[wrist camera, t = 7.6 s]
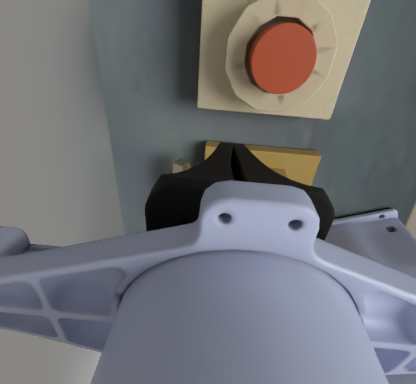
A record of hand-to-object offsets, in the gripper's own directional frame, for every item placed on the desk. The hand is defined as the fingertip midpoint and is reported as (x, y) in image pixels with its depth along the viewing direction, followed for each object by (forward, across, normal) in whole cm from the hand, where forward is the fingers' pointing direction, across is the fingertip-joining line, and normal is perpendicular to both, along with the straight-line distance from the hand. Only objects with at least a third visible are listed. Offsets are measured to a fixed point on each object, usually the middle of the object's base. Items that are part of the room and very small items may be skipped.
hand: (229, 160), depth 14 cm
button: (+5, -2, -5) cm, 8 cm away
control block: (+9, -2, -4) cm, 10 cm away
